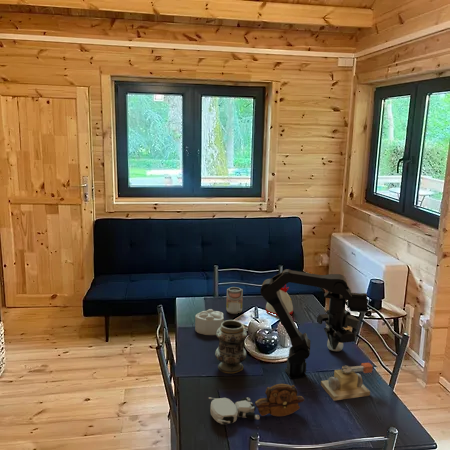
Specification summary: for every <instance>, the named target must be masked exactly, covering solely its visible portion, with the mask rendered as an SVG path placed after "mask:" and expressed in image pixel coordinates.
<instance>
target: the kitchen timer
mask: <svg viewBox="0 0 450 450" xmlns="http://www.w3.org/2000/svg"><path fill="white" fill-rule="evenodd" d="M289 288H290V287H289V286H288V287H287V284H286V285H285V286H283V287H282V288H281V289H280V294H281V299H282V301H283V303H284V305H285V306H286V308H287V310H288V312H289V314H291V315H293V312H294V306H293V301H292V298H291V297H290V294H288V290H289ZM266 311H267V312H270V313H273V314H276V312H275V310H274V308H273V307H272V306H271V305H270V304H269V303H268V302H267V301H266V305H265V312H266ZM267 312H266V313H267ZM276 315H277V314H276Z"/></svg>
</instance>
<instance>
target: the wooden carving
mask: <svg viewBox="0 0 450 450" xmlns="http://www.w3.org/2000/svg"><path fill="white" fill-rule="evenodd" d="M264 393H265V395H266V397H262V398H258V399H257V400H256V401H255V402H254V405H255V407H256V408H257V410H258V413H259V414H260V416H263V417H264V416H266V415H268V414H270V415H271V416H274V417H285V416H289V415H292V414H294V413H295V412H297V411H299V410H300V408H301V407H300V405H299V404H300V403H303V402H305V398H304V397H303V396H302V395H298V389H297V388H296V386H295V385H294V384H292V385H290V384H288V383H277V384H274V385H272V386H270V387H269V386H267V387H266V389H265V392H264Z"/></svg>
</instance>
